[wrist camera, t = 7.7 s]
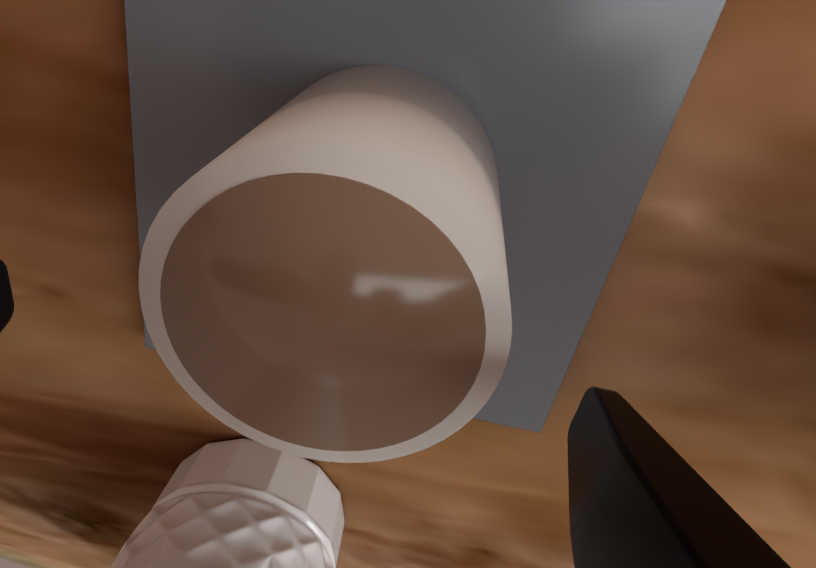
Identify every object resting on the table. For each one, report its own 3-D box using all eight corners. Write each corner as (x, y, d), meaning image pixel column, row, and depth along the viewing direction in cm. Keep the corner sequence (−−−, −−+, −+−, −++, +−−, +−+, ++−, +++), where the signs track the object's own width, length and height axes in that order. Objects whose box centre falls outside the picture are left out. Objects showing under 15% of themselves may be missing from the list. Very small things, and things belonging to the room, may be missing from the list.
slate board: (743, -69, 12) (756, -71, 11) (538, 419, 19) (540, 432, 18) (127, -207, 12) (110, -215, 11) (154, 336, 19) (145, 347, 18)
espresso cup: (527, 95, 13) (567, 200, 8) (451, 356, 17) (439, 554, 11) (275, 39, 13) (122, 102, 7) (257, 313, 17) (148, 491, 11)
